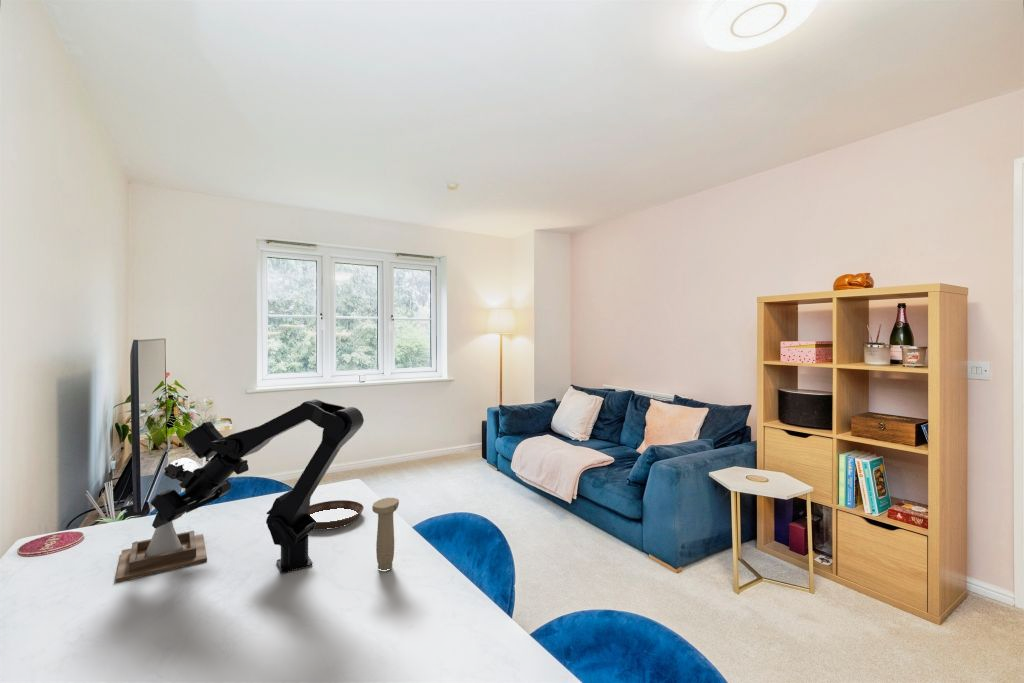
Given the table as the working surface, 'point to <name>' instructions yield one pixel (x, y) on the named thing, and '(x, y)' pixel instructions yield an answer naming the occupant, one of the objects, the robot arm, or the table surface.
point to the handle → (385, 531)
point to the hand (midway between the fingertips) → (170, 518)
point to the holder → (160, 557)
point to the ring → (335, 505)
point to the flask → (163, 541)
